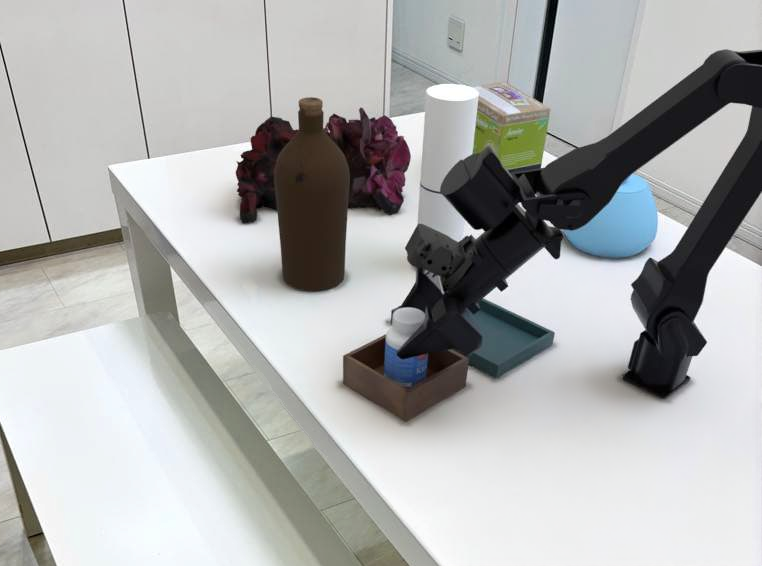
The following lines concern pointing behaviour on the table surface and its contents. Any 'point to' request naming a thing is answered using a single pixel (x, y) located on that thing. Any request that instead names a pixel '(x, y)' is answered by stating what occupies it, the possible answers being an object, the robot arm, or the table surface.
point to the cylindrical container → (445, 152)
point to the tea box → (511, 126)
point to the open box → (369, 381)
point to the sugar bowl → (620, 223)
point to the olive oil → (312, 204)
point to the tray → (505, 339)
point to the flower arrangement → (360, 147)
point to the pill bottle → (401, 330)
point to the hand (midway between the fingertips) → (396, 340)
